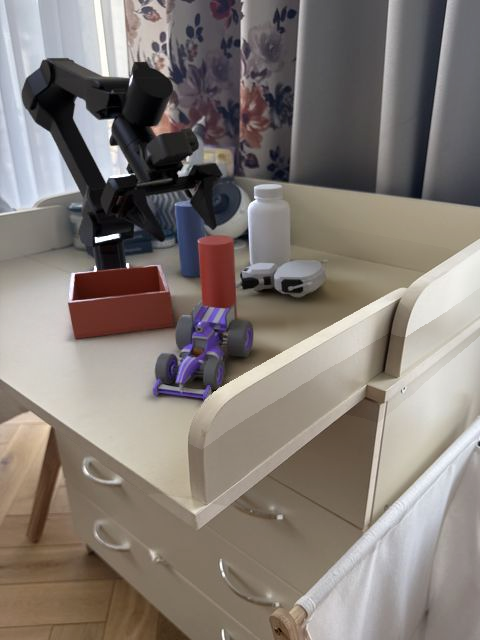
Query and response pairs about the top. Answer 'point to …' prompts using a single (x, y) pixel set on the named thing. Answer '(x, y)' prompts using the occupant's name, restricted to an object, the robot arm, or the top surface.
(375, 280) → the top surface
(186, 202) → the blue pin
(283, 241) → the pill bottle
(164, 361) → the toy race car
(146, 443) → the top surface
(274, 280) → the robot toy
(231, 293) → the red pin
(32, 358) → the top surface
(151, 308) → the red bin
